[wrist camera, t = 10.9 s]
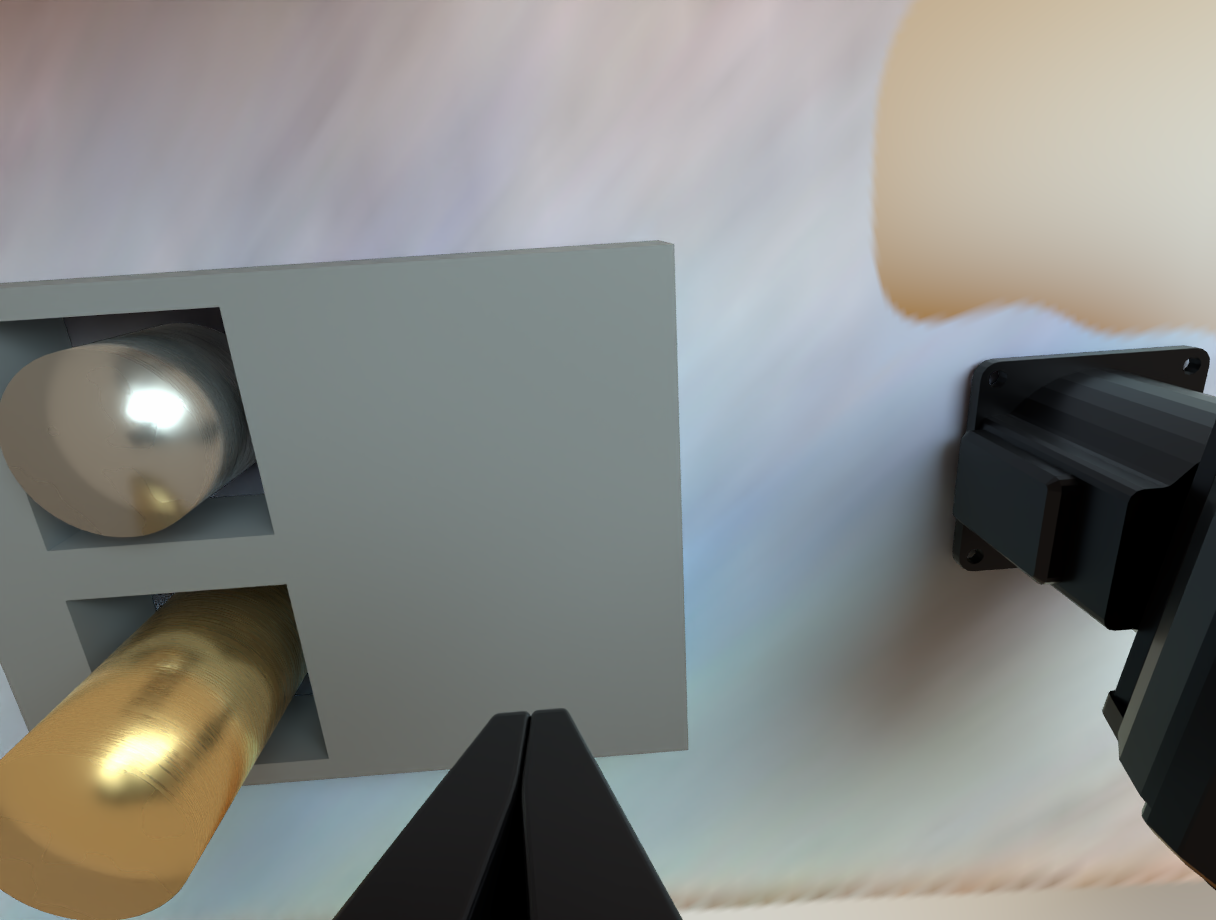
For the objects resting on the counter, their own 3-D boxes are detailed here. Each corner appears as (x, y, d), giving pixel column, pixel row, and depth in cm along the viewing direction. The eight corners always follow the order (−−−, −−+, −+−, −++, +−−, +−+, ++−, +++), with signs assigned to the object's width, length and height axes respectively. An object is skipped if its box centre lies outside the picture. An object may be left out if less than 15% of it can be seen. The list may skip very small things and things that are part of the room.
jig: (659, 240, 18) (674, 244, 15) (674, 684, 23) (688, 750, 20) (-36, 285, 18) (-151, 298, 15) (122, 727, 22) (57, 800, 20)
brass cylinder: (308, 551, 21) (157, 745, 13) (338, 674, 22) (218, 910, 15) (160, 564, 21) (-77, 766, 13) (200, 686, 22) (7, 930, 15)
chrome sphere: (257, 316, 19) (175, 341, 15) (293, 470, 20) (226, 529, 16) (91, 328, 18) (-34, 357, 15) (139, 482, 20) (37, 544, 16)
